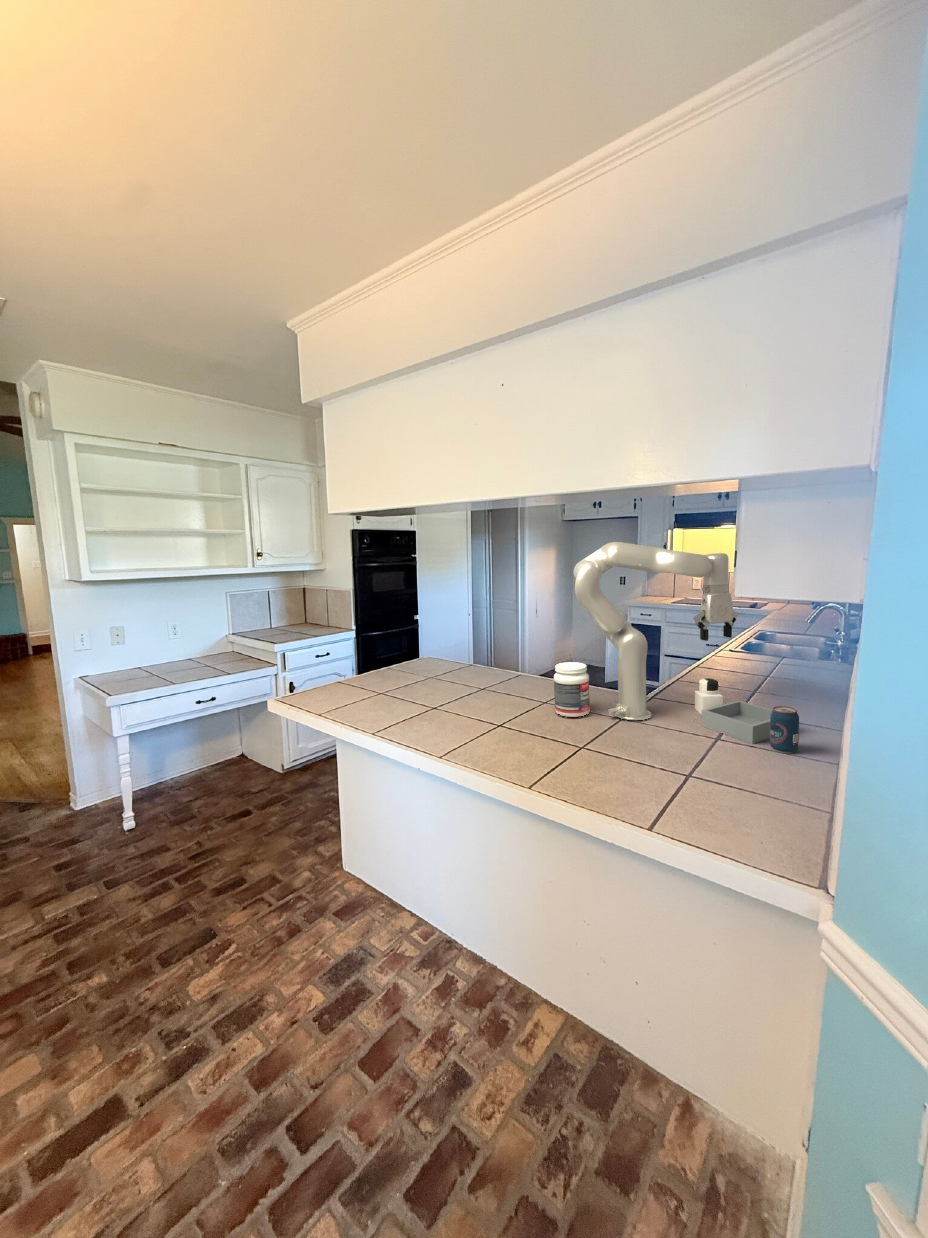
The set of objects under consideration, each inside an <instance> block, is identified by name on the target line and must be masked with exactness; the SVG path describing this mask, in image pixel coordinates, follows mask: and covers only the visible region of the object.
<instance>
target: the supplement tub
mask: <svg viewBox="0 0 928 1238" xmlns="http://www.w3.org/2000/svg"><path fill="white" fill-rule="evenodd" d="M587 667H588V665H587V664H585V663H582V662H576V661H574V662H572V661H571V662H560V663H557V664H556V665H555V667H554V671H555V673H554V675H553V688H554V689H553V691H554V693H553V694H554V712H555V711H556V712H555V713H556V714H557V715H558V714H560V715H563V716H583V717H585V716H584V715H586V714H587V715H588V714H589V713H590V711H591V704H590V703H591V701H590V700H591V699H590V675H589V674H588V672H587V671H588V668H587ZM560 715H559V716H560ZM587 715H586V716H587Z"/></svg>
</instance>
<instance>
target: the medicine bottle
mask: <svg viewBox="0 0 928 1238" xmlns="http://www.w3.org/2000/svg"><path fill="white" fill-rule="evenodd" d="M698 683H699V684H698V685H699V690H694V710H695V711H697V713H699V714H700V715H701V714H702V710H704V709H708V708H712V707H716V706H719V705H723V704H724V696H723V695H722V694H721V693H719V681H718V680H716V679H714V678H707V677H706V678H702V679H700V680H699V682H698Z"/></svg>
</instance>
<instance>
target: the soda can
mask: <svg viewBox="0 0 928 1238" xmlns="http://www.w3.org/2000/svg"><path fill="white" fill-rule="evenodd" d="M799 734H800V715H799V713H798V710H797V709H796V708H794V707H790V706H785V705H784V706H782V705H780V706H774V707H772V712H771V714H770V739H769V744H770V745H769V746H771V748H772V750H773V751H775V752H778V753H782V752H783V753H782V754H793V753H792V752H794V753H795V752H796V751H797V750H798V748H799V741H800V740H799V739H800V738H799V737H800V735H799Z"/></svg>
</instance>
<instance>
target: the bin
mask: <svg viewBox="0 0 928 1238" xmlns="http://www.w3.org/2000/svg"><path fill="white" fill-rule="evenodd" d="M772 710H773V708H772V709H771V708H768V707H764V706H761V705H756V704H753V703H749V702H746V701H744V700H743V701H742V700H735V701H731V702H728V703H723V705H719V706H716V707H712V708H708V709H704V710H702V714H700V715H701V720H700V721H701V727H703V726H704V727H703V728H705V729H708V728H709V729H708V730H711V731H715V732H717V733H721V734H722V733H723V735H725V734H726V735H725V736H728V737H731V738H734V737H735V738H734V739H738V740H740V741H742V740H743V742H744V743H745V742H746V743H748V744H752V745H754V744H757V743H761V742H763V741H766V740H770V714H771V712H772Z"/></svg>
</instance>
